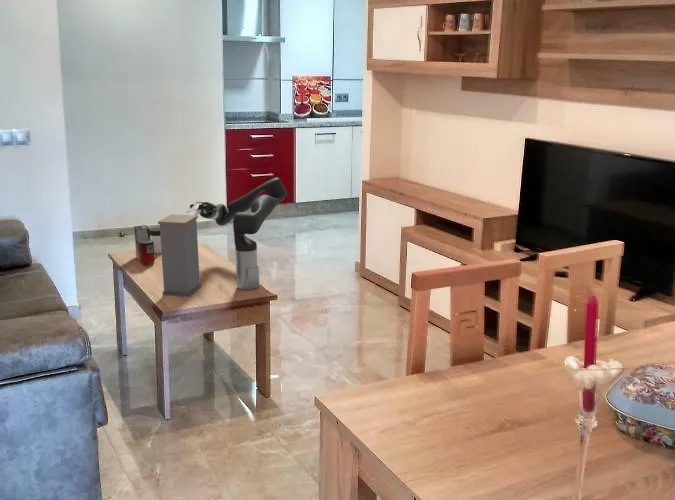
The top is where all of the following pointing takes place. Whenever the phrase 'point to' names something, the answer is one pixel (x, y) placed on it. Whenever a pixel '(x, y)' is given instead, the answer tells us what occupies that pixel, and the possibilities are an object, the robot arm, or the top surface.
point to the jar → (156, 239)
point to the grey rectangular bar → (194, 209)
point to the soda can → (146, 252)
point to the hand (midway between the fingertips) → (195, 206)
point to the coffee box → (140, 236)
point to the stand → (180, 255)
